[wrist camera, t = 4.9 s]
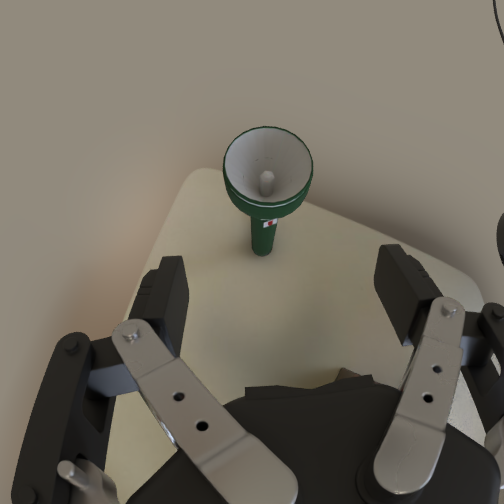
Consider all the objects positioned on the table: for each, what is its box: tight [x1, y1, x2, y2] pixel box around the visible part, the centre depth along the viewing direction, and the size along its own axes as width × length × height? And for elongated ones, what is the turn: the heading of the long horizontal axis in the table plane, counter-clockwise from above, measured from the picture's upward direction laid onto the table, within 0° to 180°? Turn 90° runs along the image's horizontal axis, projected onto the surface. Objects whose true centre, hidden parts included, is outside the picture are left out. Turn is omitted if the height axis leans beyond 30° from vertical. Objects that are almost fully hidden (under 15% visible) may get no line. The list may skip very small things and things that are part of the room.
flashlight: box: [223, 126, 313, 256], centre depth 27 cm, size 5×5×20 cm
